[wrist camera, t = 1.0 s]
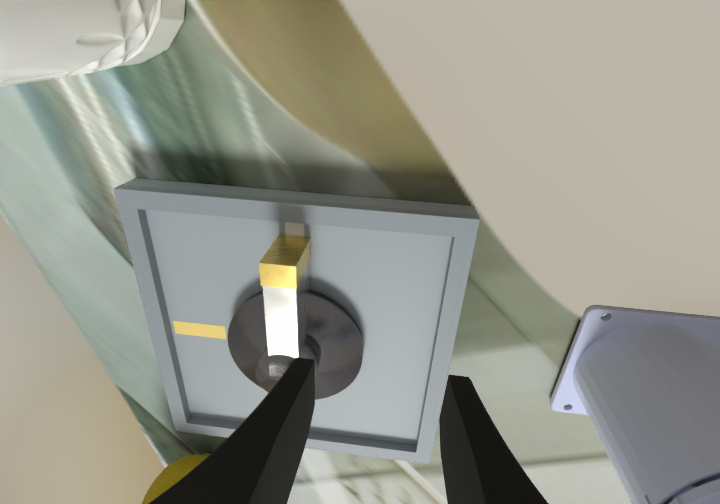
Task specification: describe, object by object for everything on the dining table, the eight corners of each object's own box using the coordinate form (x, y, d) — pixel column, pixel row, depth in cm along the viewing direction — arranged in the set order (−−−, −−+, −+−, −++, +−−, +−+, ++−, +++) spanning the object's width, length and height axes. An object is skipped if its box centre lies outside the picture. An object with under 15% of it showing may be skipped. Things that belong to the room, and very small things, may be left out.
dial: (360, 397, 25) (355, 438, 22) (239, 382, 26) (219, 421, 23) (371, 243, 20) (365, 273, 17) (219, 229, 20) (191, 256, 18)
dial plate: (473, 206, 20) (479, 219, 18) (427, 440, 28) (429, 464, 26) (135, 178, 21) (113, 188, 19) (187, 410, 29) (175, 430, 28)
